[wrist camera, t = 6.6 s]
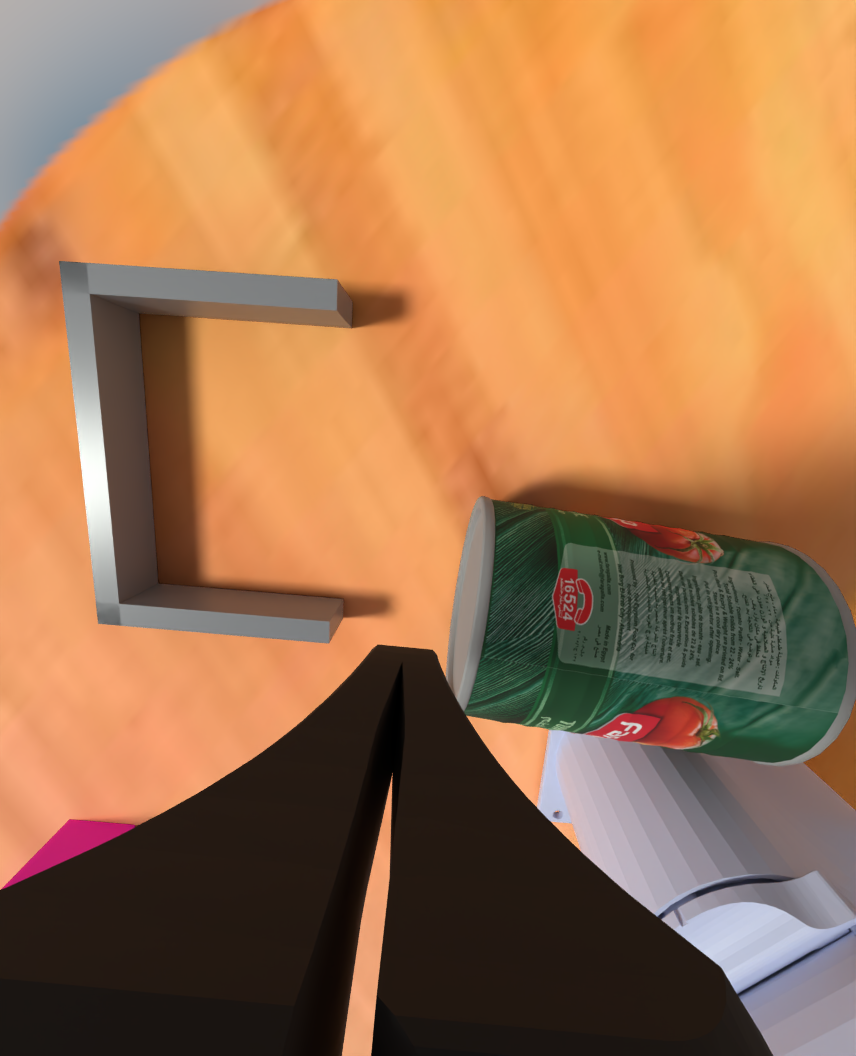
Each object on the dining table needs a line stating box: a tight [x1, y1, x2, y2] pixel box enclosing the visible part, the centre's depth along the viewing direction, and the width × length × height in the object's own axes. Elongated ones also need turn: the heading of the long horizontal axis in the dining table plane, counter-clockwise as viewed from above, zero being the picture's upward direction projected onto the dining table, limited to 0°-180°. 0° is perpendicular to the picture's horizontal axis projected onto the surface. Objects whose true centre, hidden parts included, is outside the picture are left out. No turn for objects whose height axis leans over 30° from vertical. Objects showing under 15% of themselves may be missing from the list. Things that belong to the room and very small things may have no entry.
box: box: [59, 261, 353, 643], centre depth 18 cm, size 10×14×2 cm
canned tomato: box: [446, 496, 856, 766], centre depth 16 cm, size 8×8×11 cm
